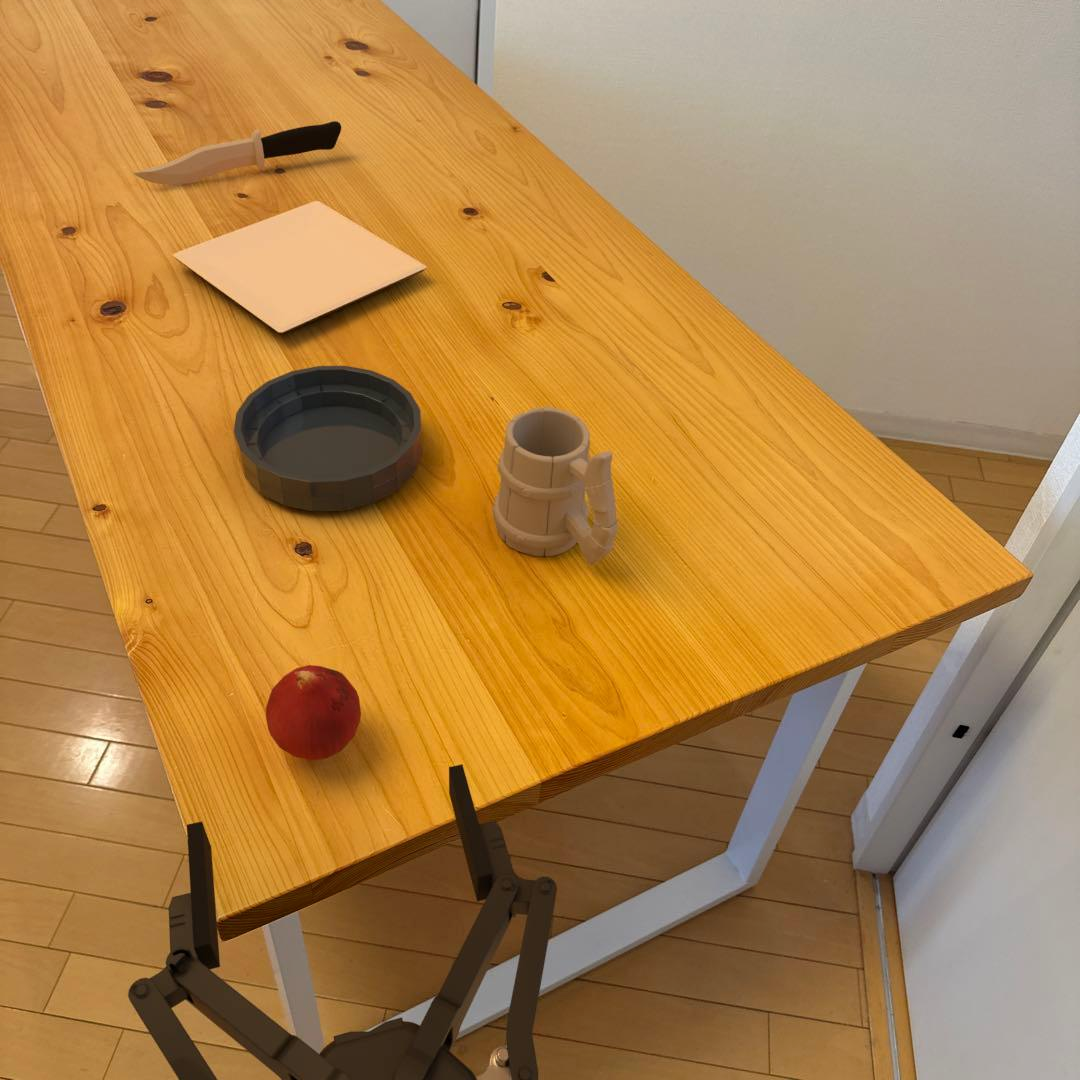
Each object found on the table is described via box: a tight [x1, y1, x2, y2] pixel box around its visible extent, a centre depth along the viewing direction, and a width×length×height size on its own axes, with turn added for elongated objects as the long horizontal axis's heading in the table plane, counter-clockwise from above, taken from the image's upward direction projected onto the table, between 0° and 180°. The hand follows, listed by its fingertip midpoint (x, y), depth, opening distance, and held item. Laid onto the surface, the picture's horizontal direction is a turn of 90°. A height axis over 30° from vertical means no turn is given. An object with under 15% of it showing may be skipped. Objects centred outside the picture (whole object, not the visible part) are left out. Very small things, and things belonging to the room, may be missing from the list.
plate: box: [172, 200, 427, 335], centre depth 105 cm, size 19×19×2 cm
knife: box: [132, 120, 342, 186], centre depth 119 cm, size 25×2×5 cm, turn 118°
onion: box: [265, 664, 362, 761], centre depth 63 cm, size 6×6×8 cm
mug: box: [492, 406, 619, 566], centre depth 77 cm, size 8×12×12 cm, turn 40°
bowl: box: [233, 365, 423, 512], centre depth 85 cm, size 15×15×4 cm
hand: (331, 805), depth 54 cm, fingers open, 13 cm apart
